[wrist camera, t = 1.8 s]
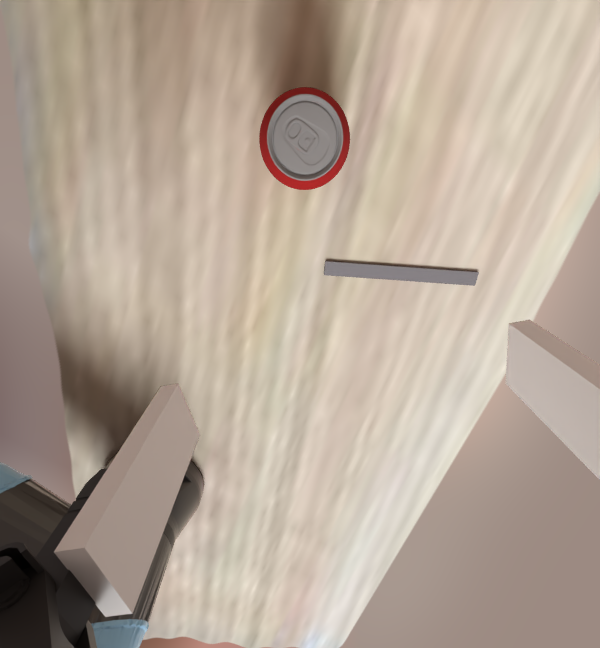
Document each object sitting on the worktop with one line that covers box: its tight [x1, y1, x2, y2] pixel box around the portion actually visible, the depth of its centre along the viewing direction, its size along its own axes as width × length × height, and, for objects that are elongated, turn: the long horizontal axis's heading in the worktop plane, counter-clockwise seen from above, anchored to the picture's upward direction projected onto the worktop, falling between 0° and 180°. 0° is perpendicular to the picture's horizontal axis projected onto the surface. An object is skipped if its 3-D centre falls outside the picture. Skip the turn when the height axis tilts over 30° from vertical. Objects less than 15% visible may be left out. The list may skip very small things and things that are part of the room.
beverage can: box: [260, 87, 350, 190], centre depth 29 cm, size 7×7×12 cm
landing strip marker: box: [324, 261, 479, 286], centre depth 40 cm, size 18×2×1 cm, turn 86°
